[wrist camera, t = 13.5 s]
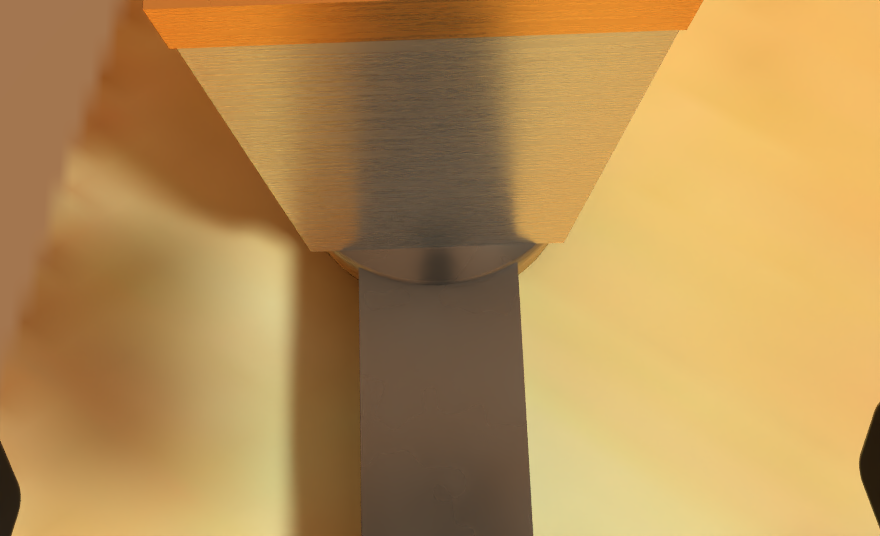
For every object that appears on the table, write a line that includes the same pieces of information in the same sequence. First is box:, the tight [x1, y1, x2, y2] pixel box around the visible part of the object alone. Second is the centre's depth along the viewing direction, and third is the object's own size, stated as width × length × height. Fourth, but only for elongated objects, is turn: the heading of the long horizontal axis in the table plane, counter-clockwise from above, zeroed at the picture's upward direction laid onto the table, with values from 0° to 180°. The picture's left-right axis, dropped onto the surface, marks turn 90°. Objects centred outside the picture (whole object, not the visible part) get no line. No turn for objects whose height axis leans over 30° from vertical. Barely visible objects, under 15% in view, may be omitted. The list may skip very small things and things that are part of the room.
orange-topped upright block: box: [143, 0, 703, 252], centre depth 14 cm, size 6×6×10 cm
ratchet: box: [327, 243, 548, 536], centre depth 17 cm, size 18×7×5 cm, turn 2°
